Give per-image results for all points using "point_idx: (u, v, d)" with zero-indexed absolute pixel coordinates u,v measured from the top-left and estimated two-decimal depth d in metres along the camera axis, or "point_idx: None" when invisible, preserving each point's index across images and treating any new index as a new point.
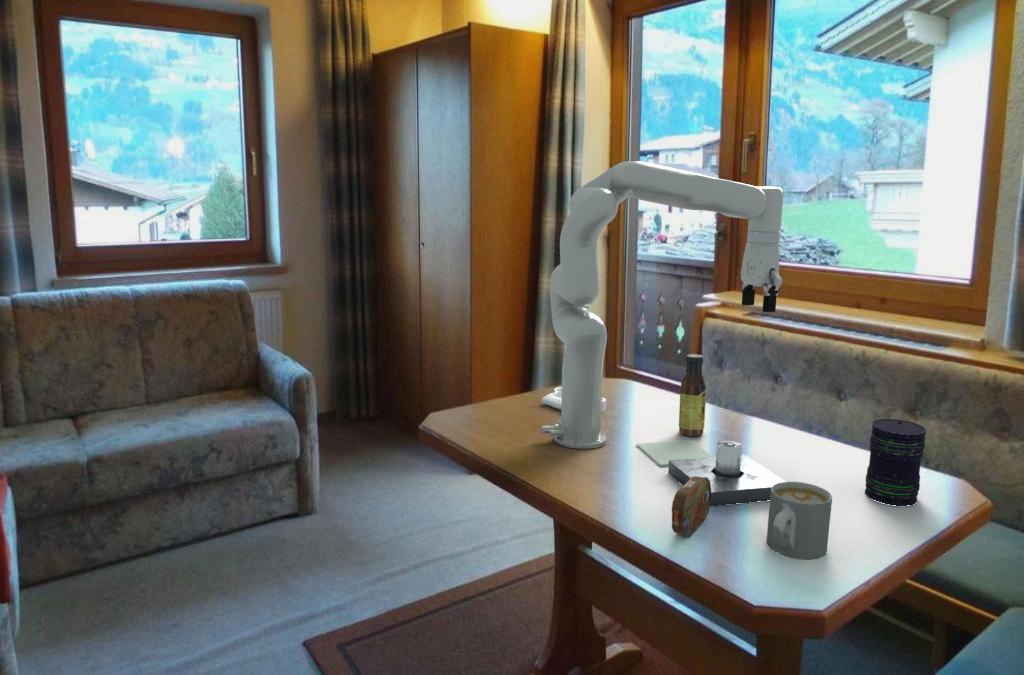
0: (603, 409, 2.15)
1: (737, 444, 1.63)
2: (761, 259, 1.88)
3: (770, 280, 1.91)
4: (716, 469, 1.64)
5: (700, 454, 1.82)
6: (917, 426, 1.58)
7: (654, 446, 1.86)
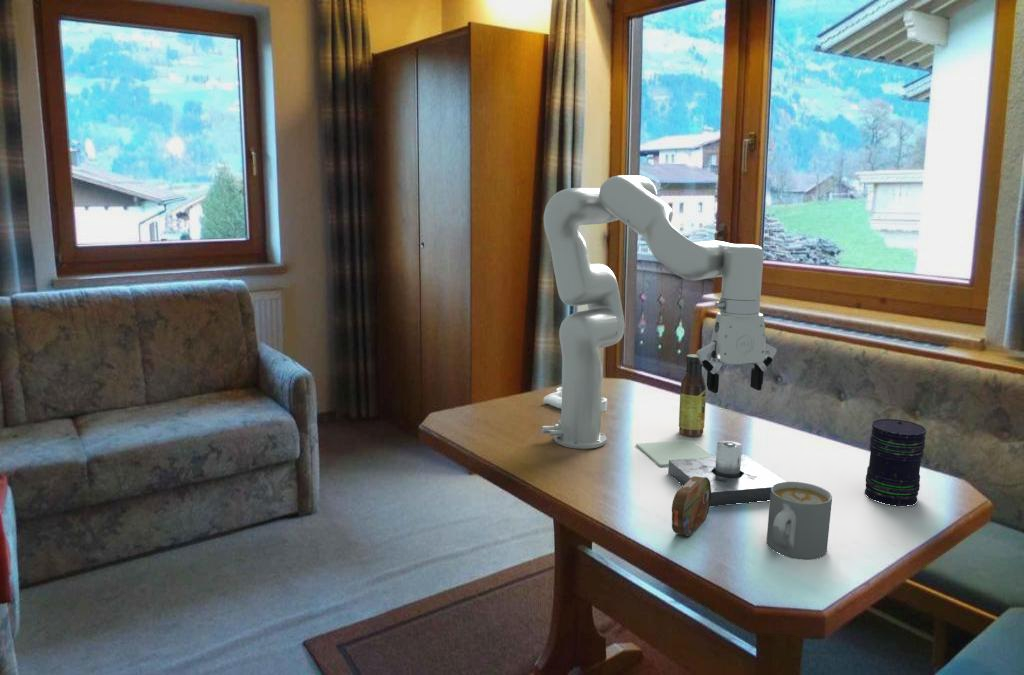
0: (604, 409, 2.15)
1: (737, 444, 1.63)
2: (763, 331, 1.57)
3: None
4: (716, 469, 1.64)
5: (700, 454, 1.82)
6: (917, 426, 1.58)
7: (654, 446, 1.86)
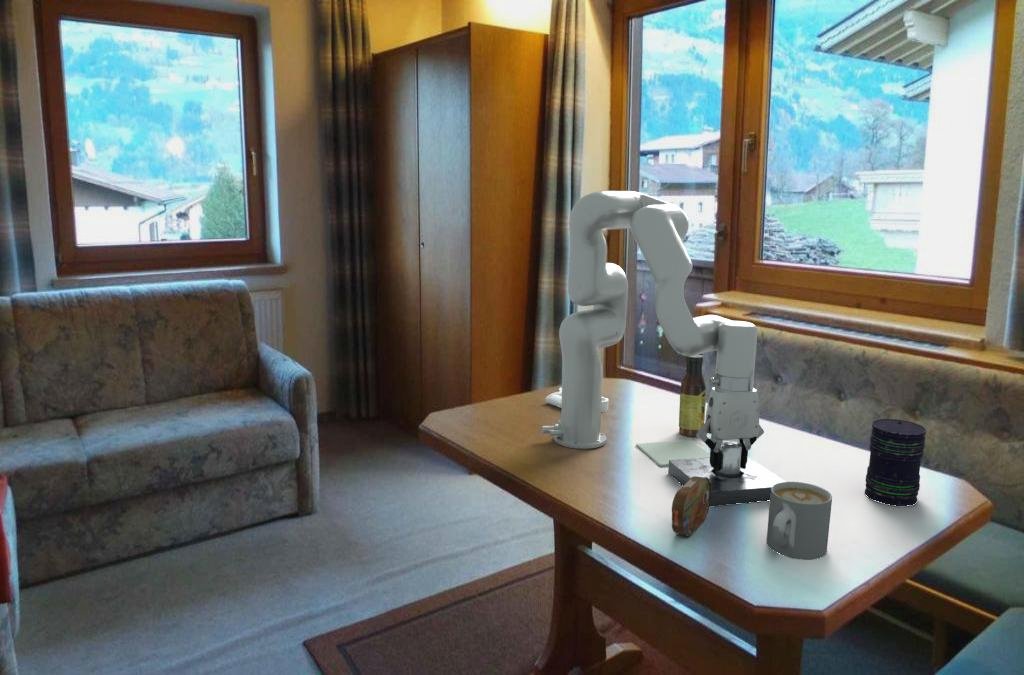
0: (605, 409, 2.15)
1: (737, 444, 1.63)
2: (756, 407, 1.60)
3: None
4: None
5: (700, 454, 1.82)
6: (917, 426, 1.58)
7: (654, 446, 1.86)
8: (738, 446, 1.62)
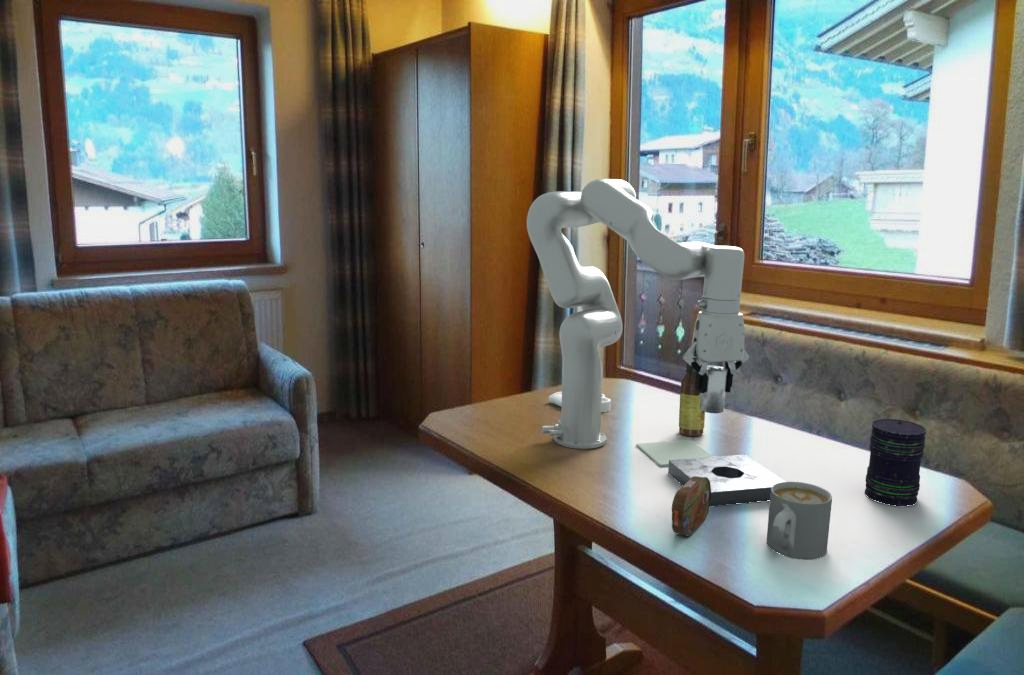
0: (607, 410, 2.15)
1: (722, 368, 1.66)
2: (742, 330, 1.63)
3: None
4: None
5: (700, 454, 1.82)
6: (917, 426, 1.58)
7: (654, 446, 1.86)
8: (723, 370, 1.65)
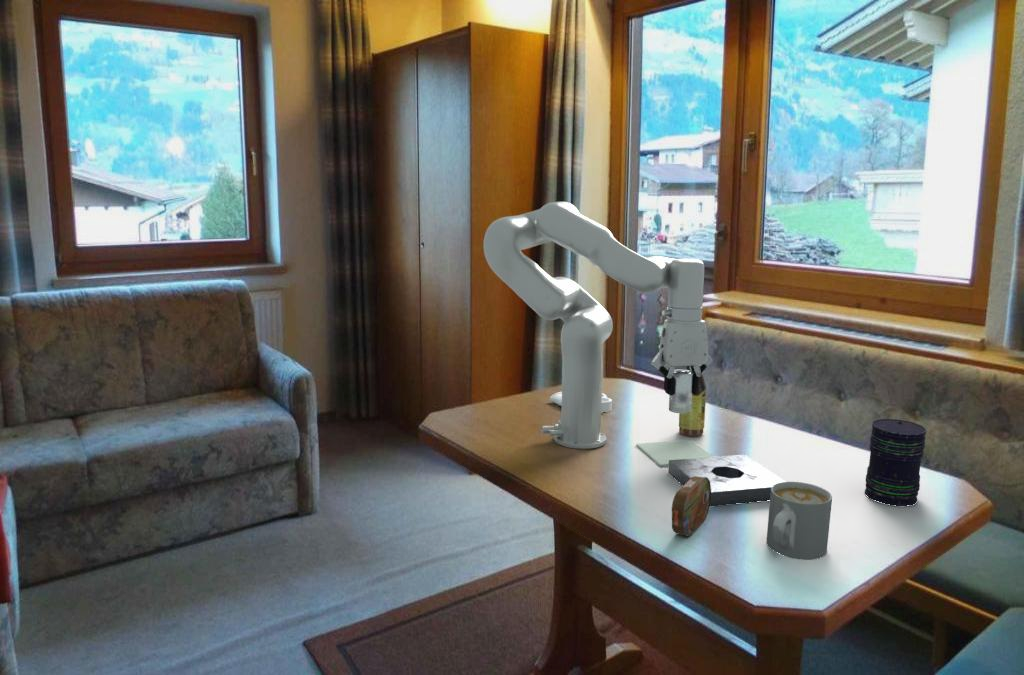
0: (608, 410, 2.15)
1: (688, 371, 1.80)
2: (705, 336, 1.76)
3: None
4: None
5: (700, 454, 1.82)
6: (917, 426, 1.58)
7: (654, 446, 1.86)
8: (689, 373, 1.78)
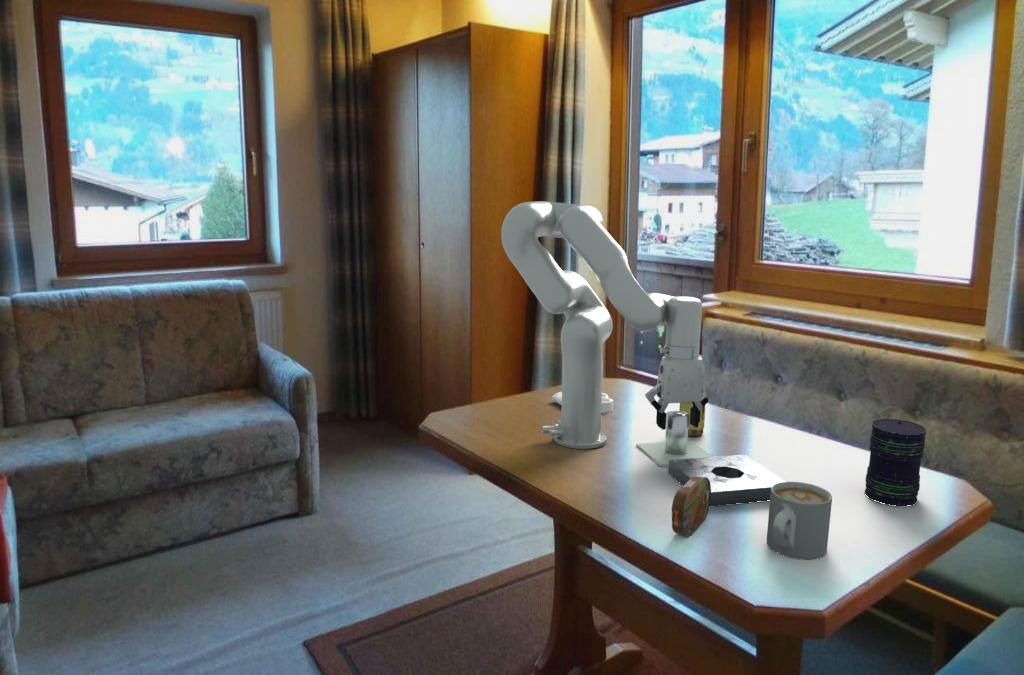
0: (609, 410, 2.14)
1: (684, 413, 1.82)
2: (702, 373, 1.78)
3: None
4: (666, 436, 1.82)
5: (700, 454, 1.82)
6: (917, 426, 1.58)
7: (654, 446, 1.86)
8: (685, 414, 1.81)
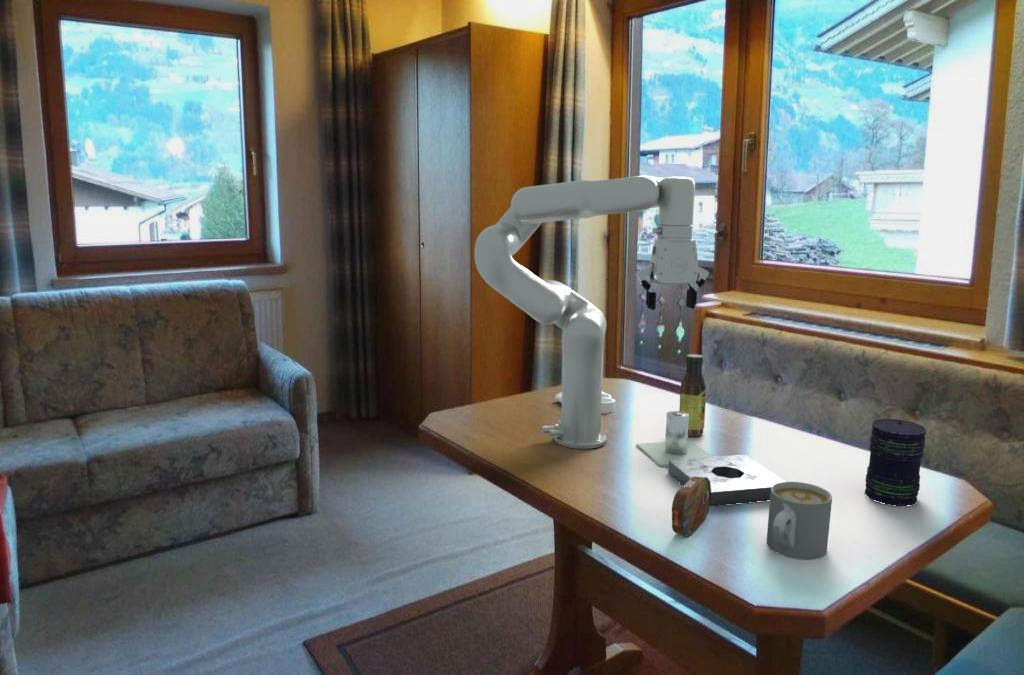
0: (611, 410, 2.14)
1: (684, 413, 1.82)
2: (695, 254, 1.77)
3: None
4: (666, 436, 1.82)
5: (700, 454, 1.82)
6: (917, 426, 1.58)
7: (654, 446, 1.86)
8: (685, 415, 1.80)
